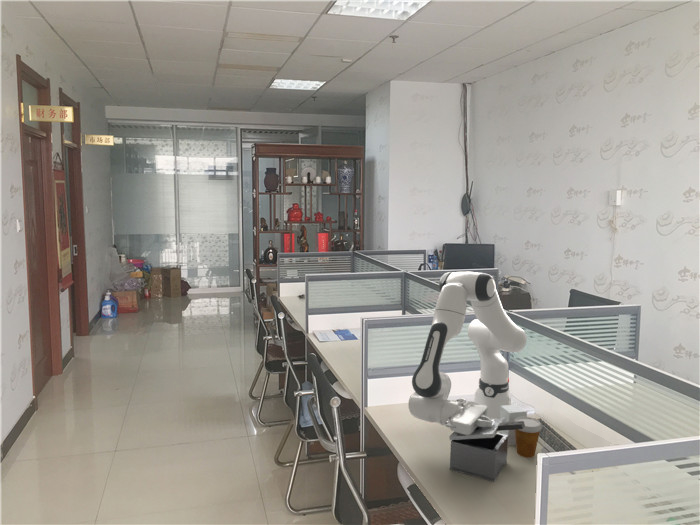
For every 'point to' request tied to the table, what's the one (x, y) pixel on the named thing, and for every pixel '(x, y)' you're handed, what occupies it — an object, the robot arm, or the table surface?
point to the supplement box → (511, 419)
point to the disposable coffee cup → (527, 437)
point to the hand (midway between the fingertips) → (493, 423)
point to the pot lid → (489, 430)
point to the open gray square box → (479, 456)
